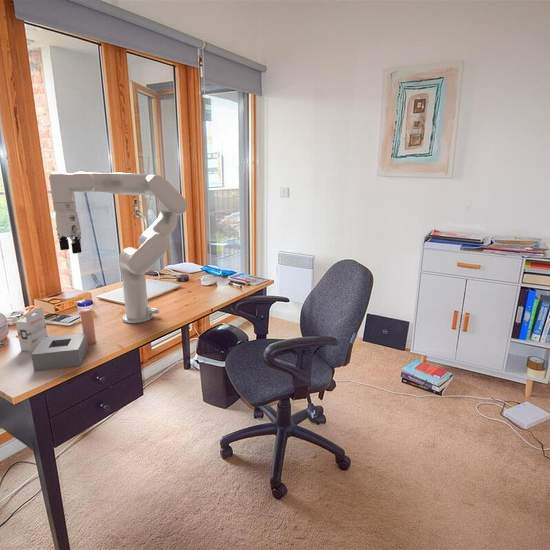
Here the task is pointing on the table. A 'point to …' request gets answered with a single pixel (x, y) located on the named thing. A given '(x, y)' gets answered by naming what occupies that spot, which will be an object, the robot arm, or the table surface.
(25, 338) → the ink box
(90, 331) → the peg
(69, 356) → the socket block
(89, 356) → the table surface
